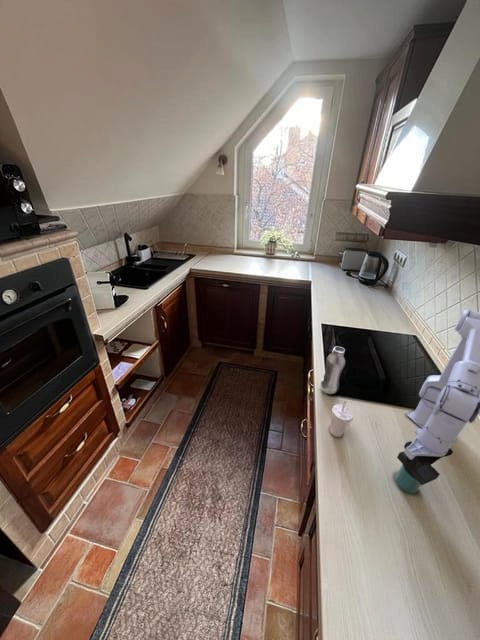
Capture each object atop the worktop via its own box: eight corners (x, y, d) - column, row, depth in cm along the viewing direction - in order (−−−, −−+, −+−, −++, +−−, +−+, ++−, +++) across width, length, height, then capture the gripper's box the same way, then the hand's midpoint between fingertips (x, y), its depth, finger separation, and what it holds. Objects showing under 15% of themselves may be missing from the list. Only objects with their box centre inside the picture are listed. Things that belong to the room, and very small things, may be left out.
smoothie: (342, 423, 86) (352, 394, 79) (349, 440, 81) (361, 410, 74) (323, 423, 86) (332, 394, 79) (330, 441, 80) (339, 410, 73)
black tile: (396, 457, 69) (399, 452, 68) (410, 452, 70) (413, 447, 69) (421, 485, 62) (425, 480, 61) (436, 479, 64) (440, 474, 63)
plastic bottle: (337, 398, 96) (349, 356, 86) (318, 393, 98) (329, 352, 88) (337, 386, 101) (349, 346, 91) (319, 382, 103) (329, 342, 93)
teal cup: (404, 470, 73) (412, 456, 70) (422, 488, 69) (431, 475, 65) (390, 477, 71) (398, 464, 68) (408, 497, 67) (417, 483, 64)
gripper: (445, 410, 64) (424, 443, 71) (401, 424, 60) (384, 458, 67) (475, 433, 58) (449, 467, 65) (429, 451, 54) (407, 485, 61)
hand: (418, 464), depth 66 cm, fingers closed on black tile, 5 cm apart
